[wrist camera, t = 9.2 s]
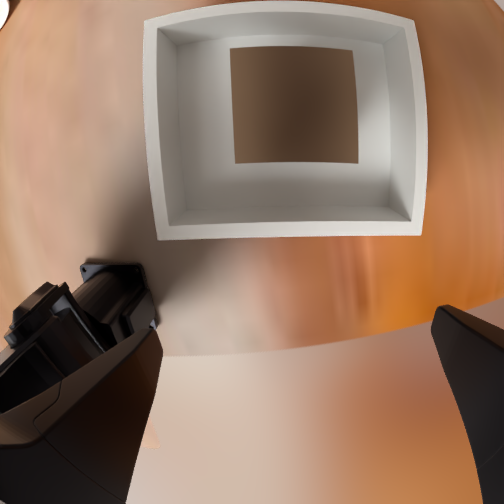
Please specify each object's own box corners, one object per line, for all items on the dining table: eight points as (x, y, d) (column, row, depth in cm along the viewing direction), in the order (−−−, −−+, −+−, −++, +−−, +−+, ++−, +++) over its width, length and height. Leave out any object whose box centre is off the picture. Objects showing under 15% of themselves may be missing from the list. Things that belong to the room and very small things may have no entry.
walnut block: (247, 156, 16) (235, 163, 11) (243, 79, 14) (229, 48, 9) (328, 156, 16) (358, 163, 10) (325, 79, 14) (352, 50, 8)
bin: (181, 218, 19) (157, 240, 15) (170, 42, 14) (144, 20, 10) (391, 214, 18) (420, 235, 14) (386, 41, 13) (413, 20, 9)
